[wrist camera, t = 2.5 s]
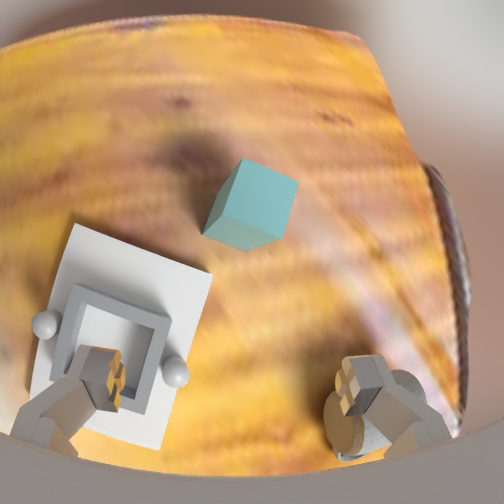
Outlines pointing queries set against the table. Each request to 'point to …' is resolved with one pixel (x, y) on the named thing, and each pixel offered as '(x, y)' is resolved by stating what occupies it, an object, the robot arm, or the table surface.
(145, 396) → the housing plate
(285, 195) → the block
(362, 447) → the ceramic mug
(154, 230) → the table surface
